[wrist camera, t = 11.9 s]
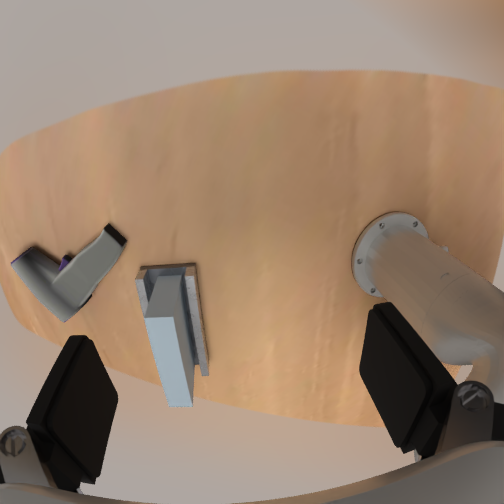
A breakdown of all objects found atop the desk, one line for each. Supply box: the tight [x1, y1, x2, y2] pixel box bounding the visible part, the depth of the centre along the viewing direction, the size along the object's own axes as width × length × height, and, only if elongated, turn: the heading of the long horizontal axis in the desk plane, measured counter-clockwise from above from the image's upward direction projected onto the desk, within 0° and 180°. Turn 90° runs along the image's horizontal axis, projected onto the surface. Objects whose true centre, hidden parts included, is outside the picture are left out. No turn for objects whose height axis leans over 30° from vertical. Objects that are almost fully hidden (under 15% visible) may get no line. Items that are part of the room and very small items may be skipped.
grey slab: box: [144, 275, 195, 407], centre depth 36 cm, size 14×3×9 cm, turn 1°
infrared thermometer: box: [11, 224, 127, 322], centre depth 34 cm, size 5×12×15 cm
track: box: [135, 263, 209, 376], centre depth 39 cm, size 16×7×4 cm, turn 2°
